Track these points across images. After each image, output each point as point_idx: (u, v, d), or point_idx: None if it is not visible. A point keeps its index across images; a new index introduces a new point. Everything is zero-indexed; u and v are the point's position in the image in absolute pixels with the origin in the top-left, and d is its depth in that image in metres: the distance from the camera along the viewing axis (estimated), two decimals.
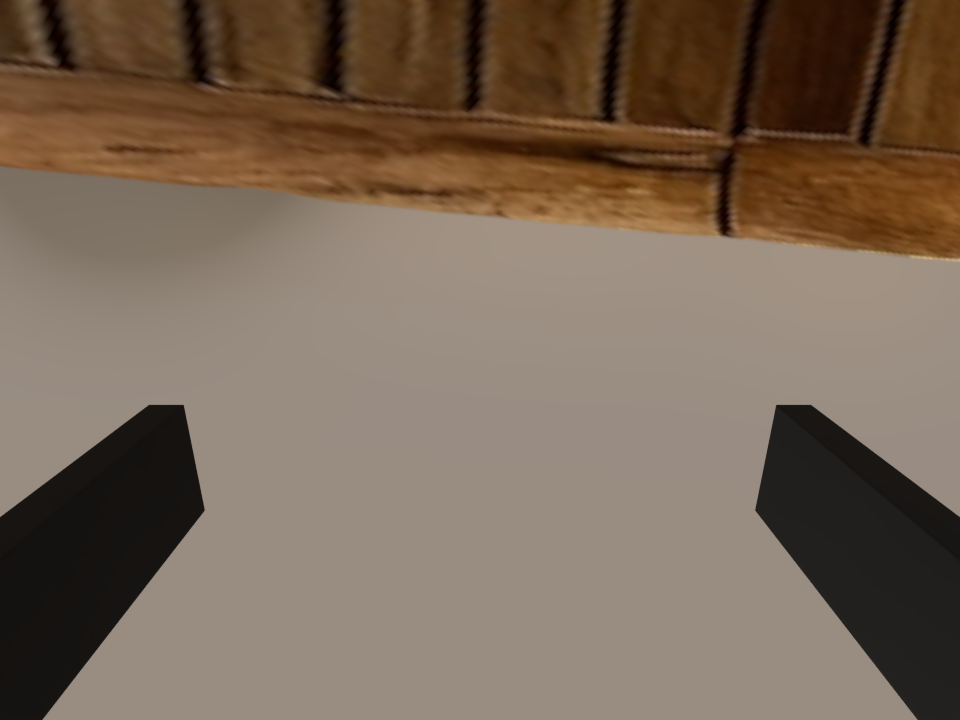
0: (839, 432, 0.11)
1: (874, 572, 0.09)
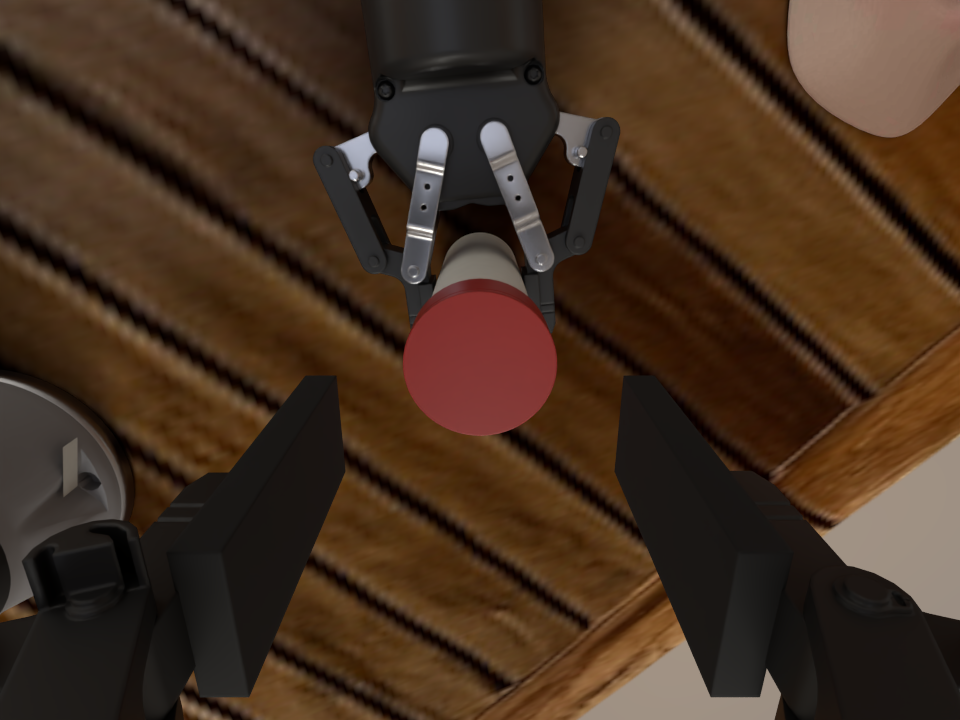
0: (664, 396, 0.13)
1: (664, 509, 0.11)
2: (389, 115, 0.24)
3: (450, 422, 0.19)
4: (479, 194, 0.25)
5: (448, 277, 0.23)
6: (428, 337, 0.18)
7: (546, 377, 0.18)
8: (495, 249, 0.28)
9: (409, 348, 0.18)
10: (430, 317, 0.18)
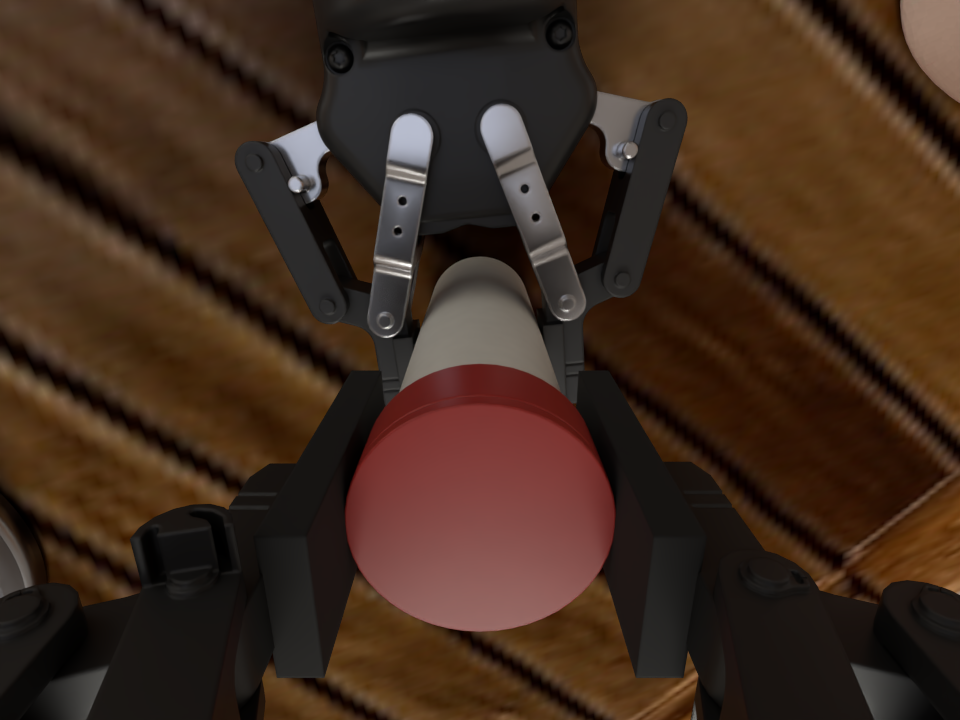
0: (613, 390, 0.13)
1: None
2: (345, 95, 0.16)
3: (429, 612, 0.11)
4: (479, 211, 0.17)
5: (431, 341, 0.15)
6: (387, 481, 0.10)
7: (596, 543, 0.10)
8: (501, 286, 0.20)
9: (354, 497, 0.10)
10: (390, 447, 0.10)
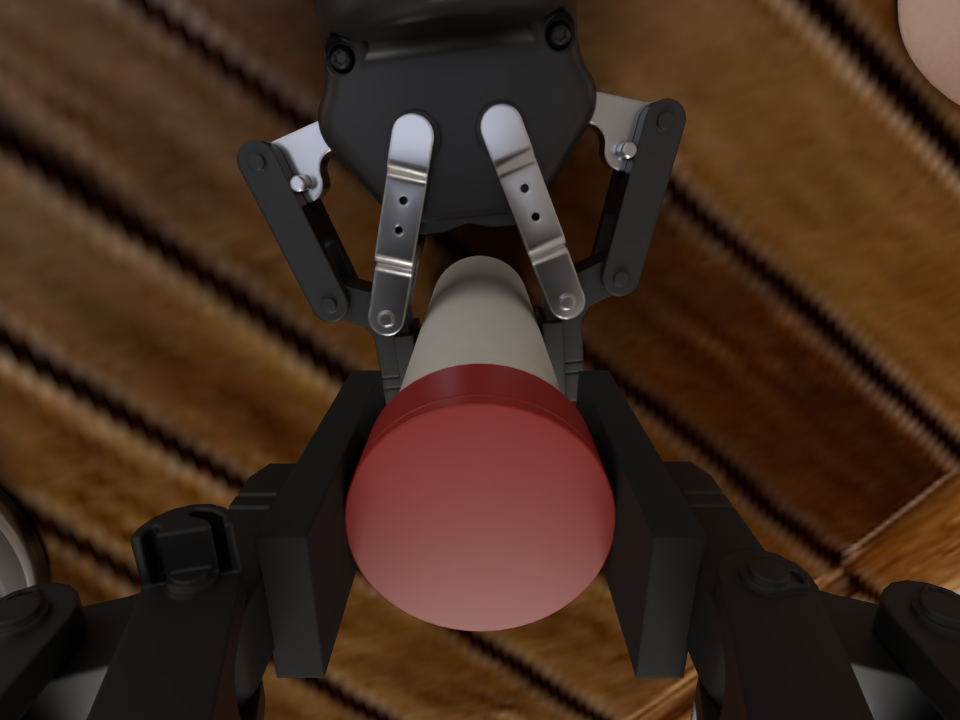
0: (613, 390, 0.13)
1: None
2: (347, 96, 0.16)
3: (587, 567, 0.11)
4: (479, 211, 0.17)
5: (432, 339, 0.15)
6: (432, 599, 0.11)
7: (495, 420, 0.10)
8: (501, 285, 0.20)
9: (453, 623, 0.11)
10: (397, 597, 0.11)
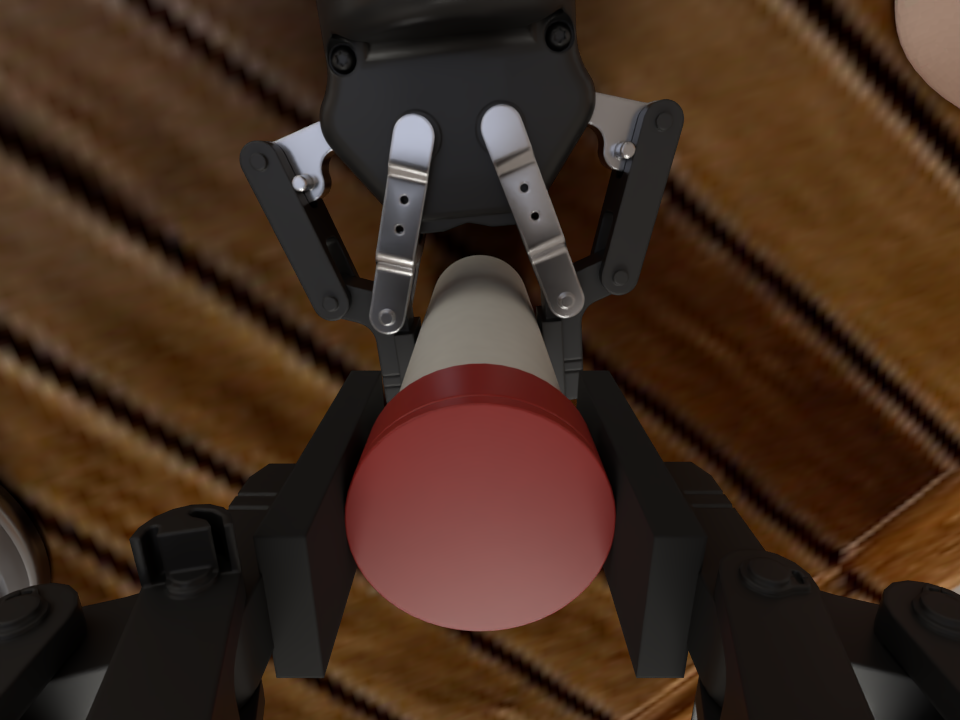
0: (613, 390, 0.13)
1: None
2: (348, 96, 0.16)
3: (528, 426, 0.10)
4: (479, 210, 0.18)
5: (433, 337, 0.15)
6: (570, 565, 0.11)
7: (360, 519, 0.10)
8: (501, 284, 0.20)
9: (603, 546, 0.10)
10: (567, 593, 0.11)
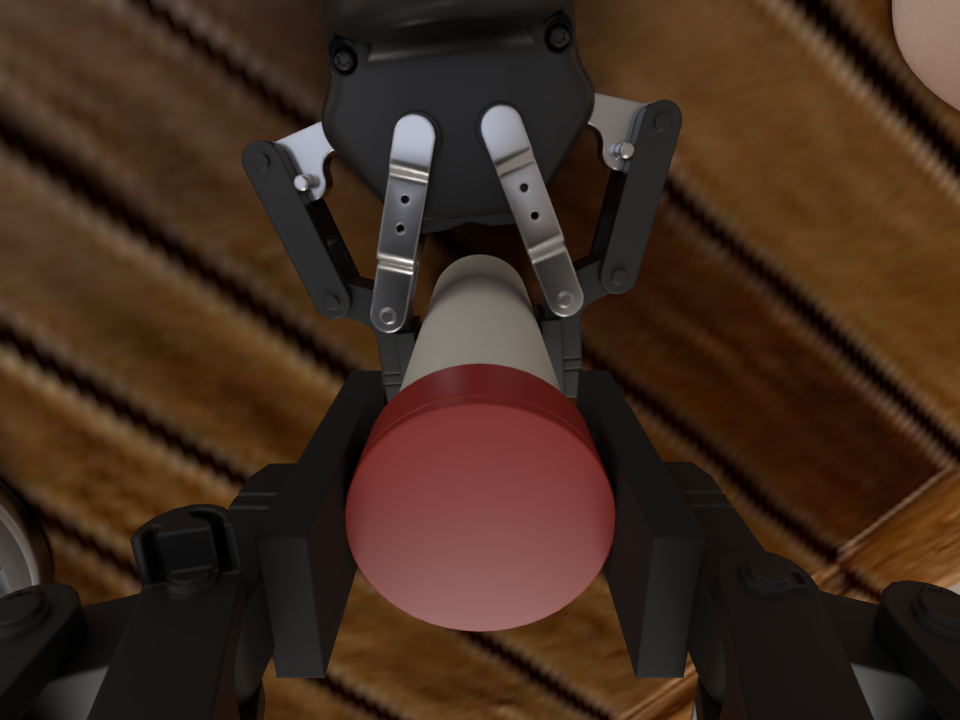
0: (613, 390, 0.13)
1: None
2: (350, 96, 0.17)
3: (363, 493, 0.10)
4: (479, 210, 0.18)
5: (433, 335, 0.15)
6: (525, 442, 0.10)
7: (476, 620, 0.11)
8: (501, 283, 0.20)
9: (500, 413, 0.09)
10: (564, 442, 0.10)
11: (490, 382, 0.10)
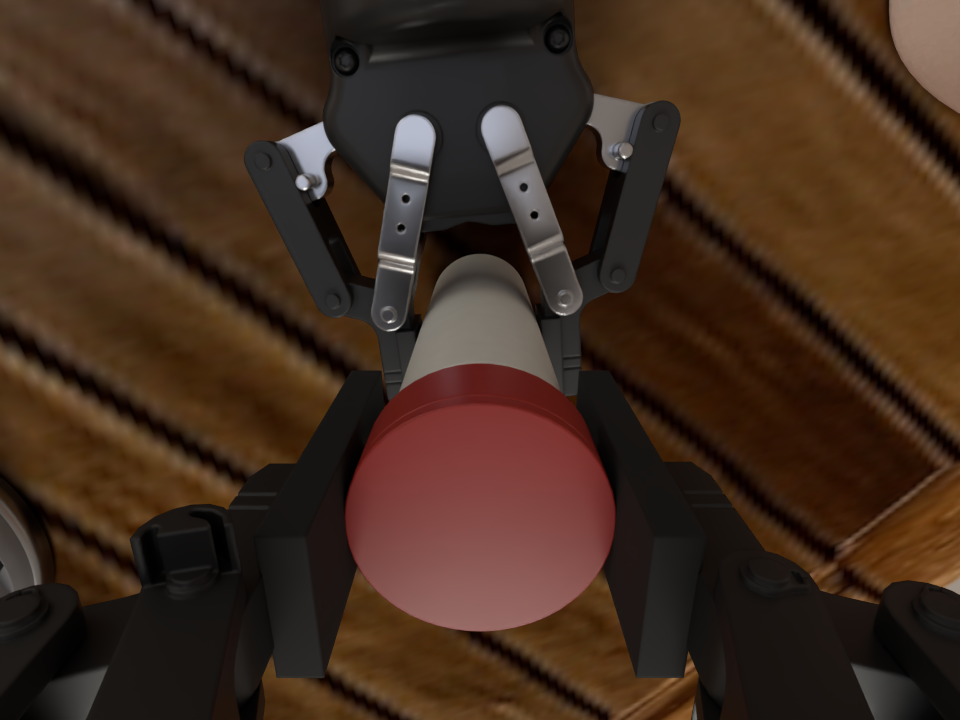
0: (613, 390, 0.13)
1: None
2: (351, 97, 0.17)
3: (447, 617, 0.11)
4: (479, 209, 0.18)
5: (434, 333, 0.15)
6: (381, 494, 0.10)
7: (599, 526, 0.10)
8: (501, 282, 0.21)
9: (352, 516, 0.10)
10: (376, 461, 0.10)
11: None
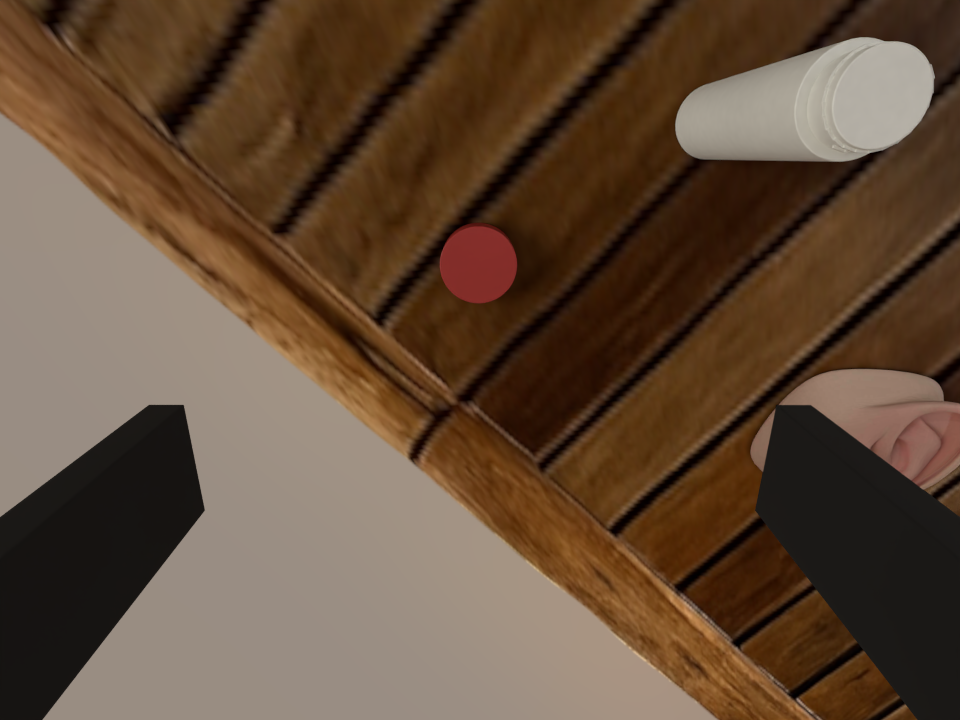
0: (839, 432, 0.11)
1: (873, 571, 0.09)
2: None
3: (469, 297, 0.37)
4: None
5: None
6: (450, 254, 0.36)
7: (512, 265, 0.36)
8: None
9: (442, 262, 0.36)
10: (450, 244, 0.36)
11: None
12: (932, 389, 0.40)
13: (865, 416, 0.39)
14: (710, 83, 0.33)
